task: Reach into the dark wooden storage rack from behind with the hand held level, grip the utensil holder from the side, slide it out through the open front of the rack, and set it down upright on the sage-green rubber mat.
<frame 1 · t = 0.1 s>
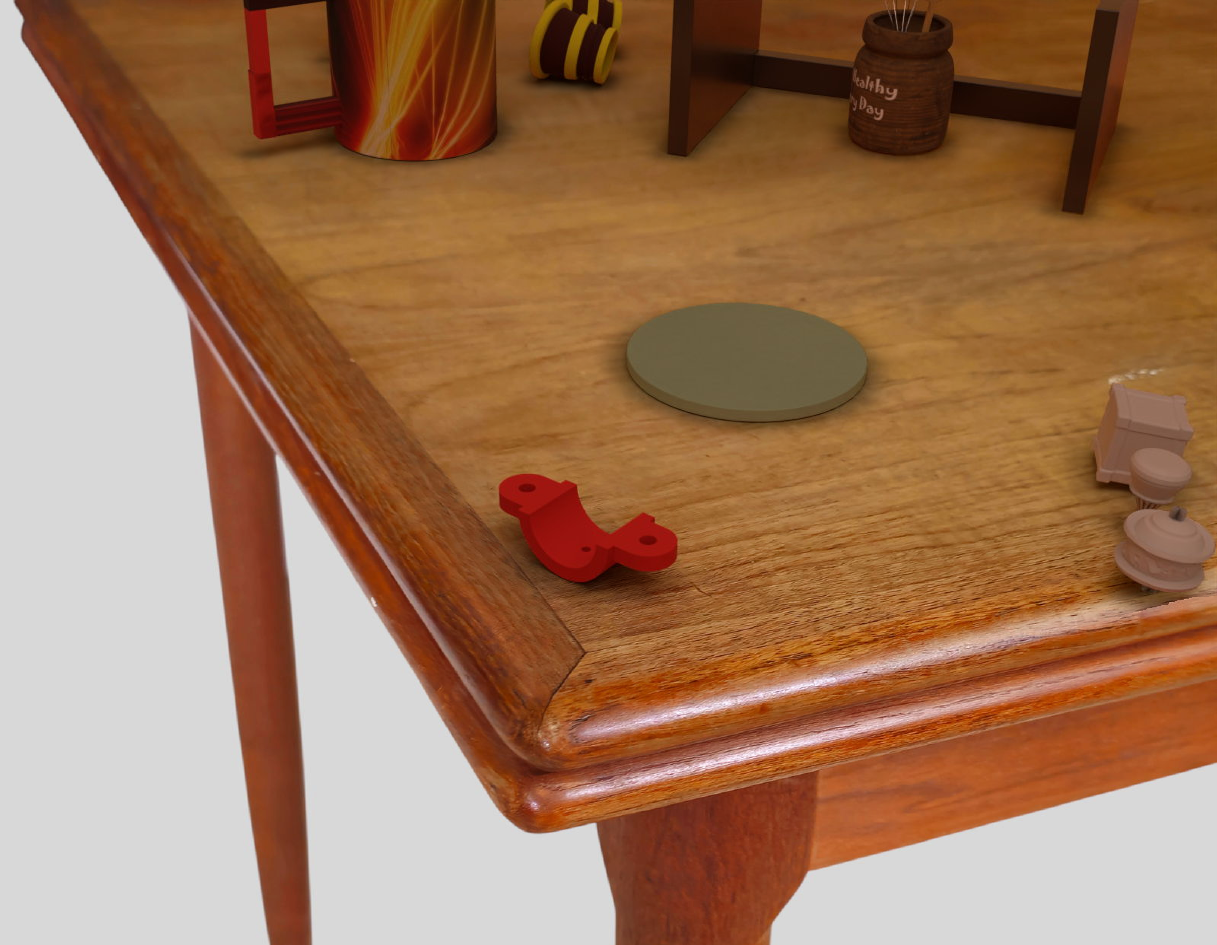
utensil holder: (896, 143, 108), on the table
storage rack: (896, 140, 108), on the table
rubber mat: (745, 364, 83), on the table
toy set: (1168, 447, 70), point 4 cm above the table
mug: (393, 144, 106), on the table
pipe clamp: (586, 508, 68), point 2 cm above the table
opera glasses: (577, 69, 118), on the table
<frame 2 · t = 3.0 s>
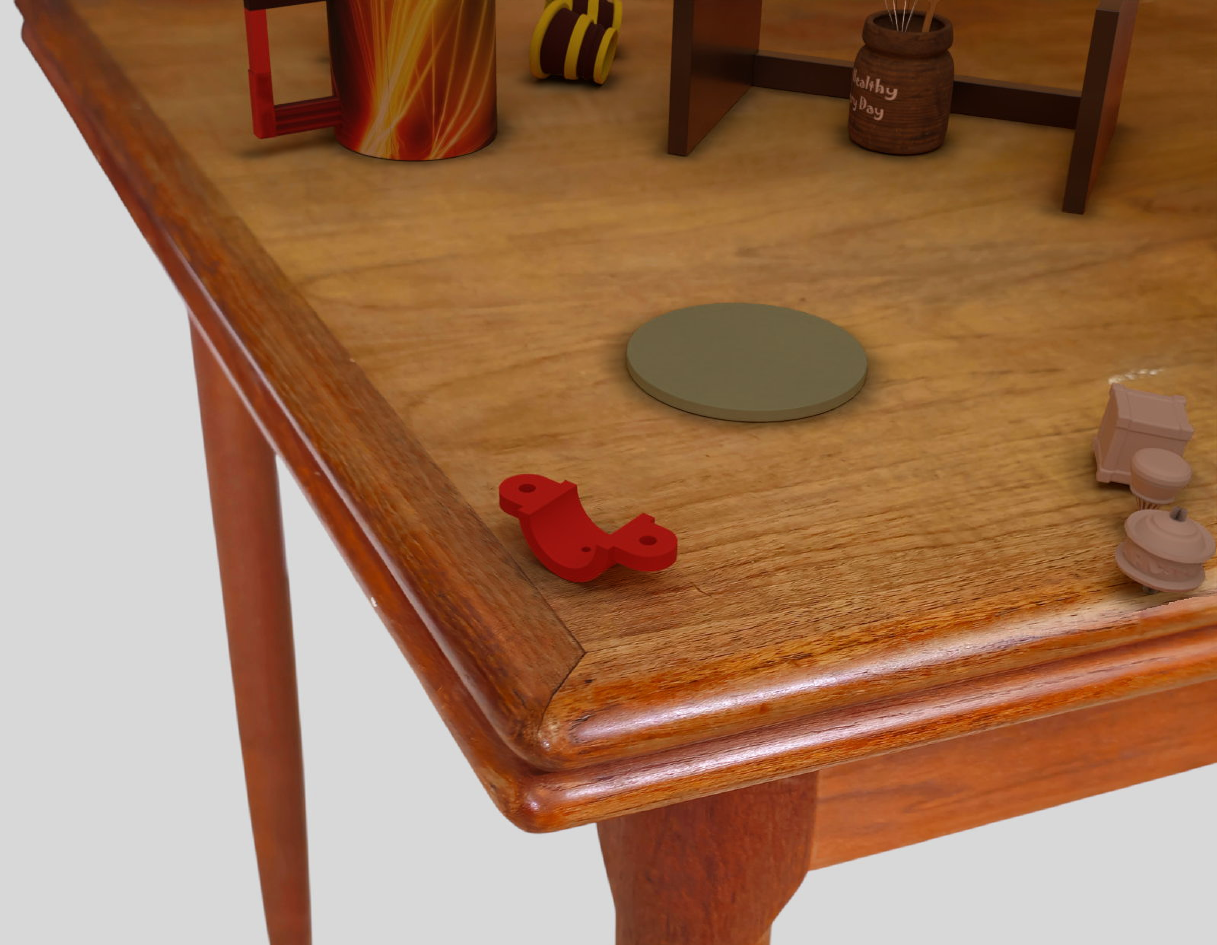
nothing on the table moved.
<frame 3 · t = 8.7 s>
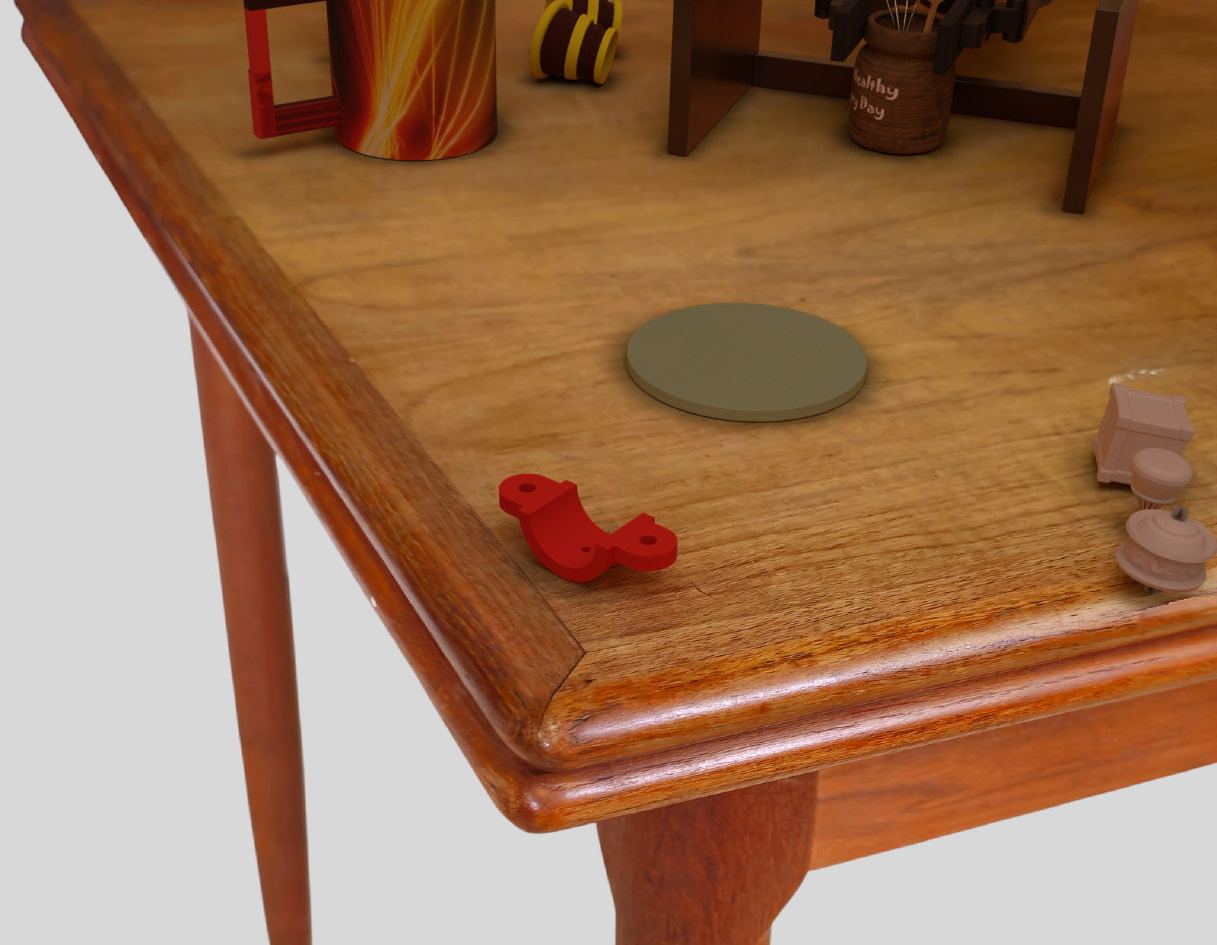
hand: (890, 43, 100), 7 cm above the table, tool horizontal, fingers closed on utensil holder, 5 cm apart
utensil holder: (896, 142, 108), on the table, touching gripper
everything else where it was.
when the fingers open (8 cm above the table, at t = 16.7 s): utensil holder stays where it is, resting on rubber mat.
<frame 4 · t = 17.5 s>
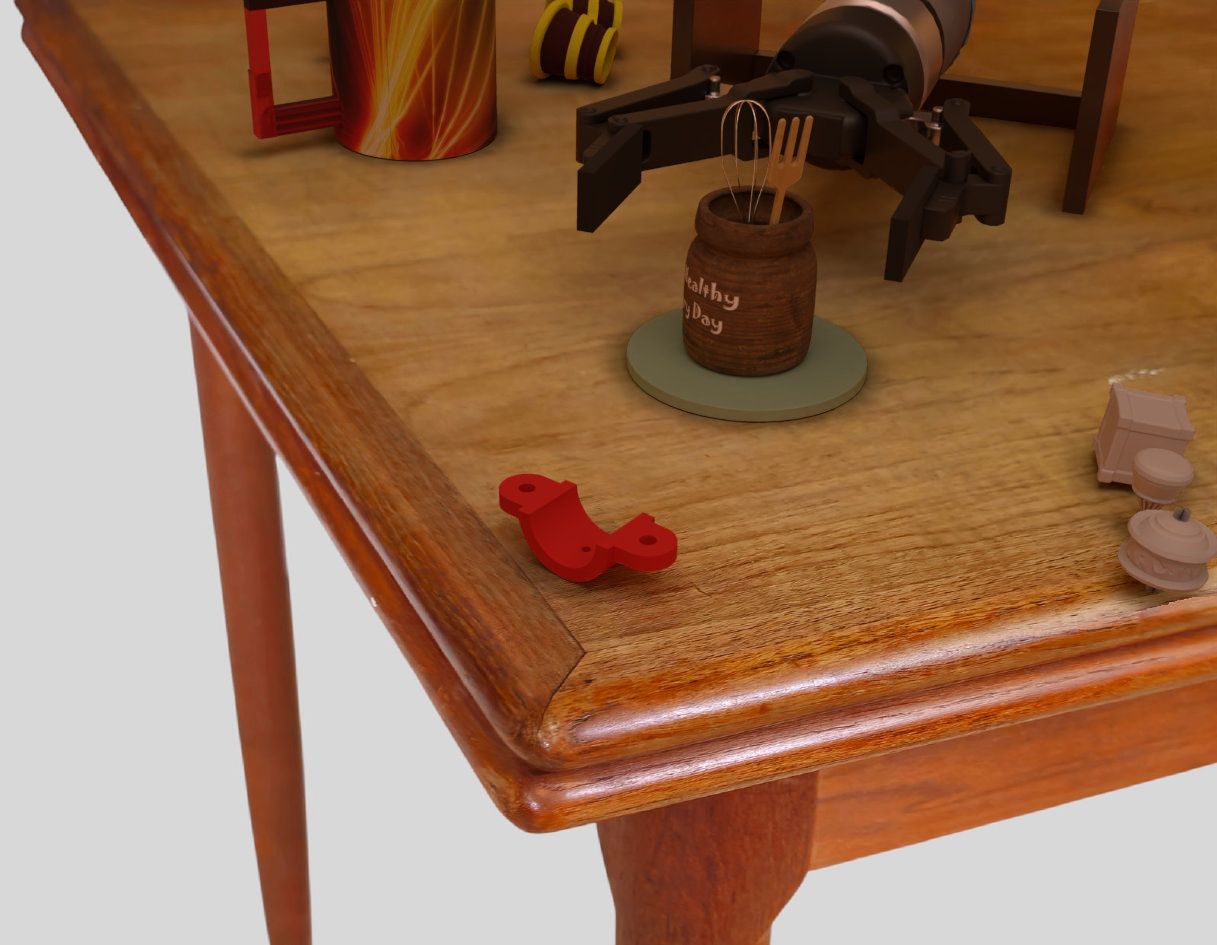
hand: (736, 226, 76), 8 cm above the table, tool horizontal, fingers open, 13 cm apart
utensil holder: (746, 356, 83), resting on rubber mat
everything else where it was.
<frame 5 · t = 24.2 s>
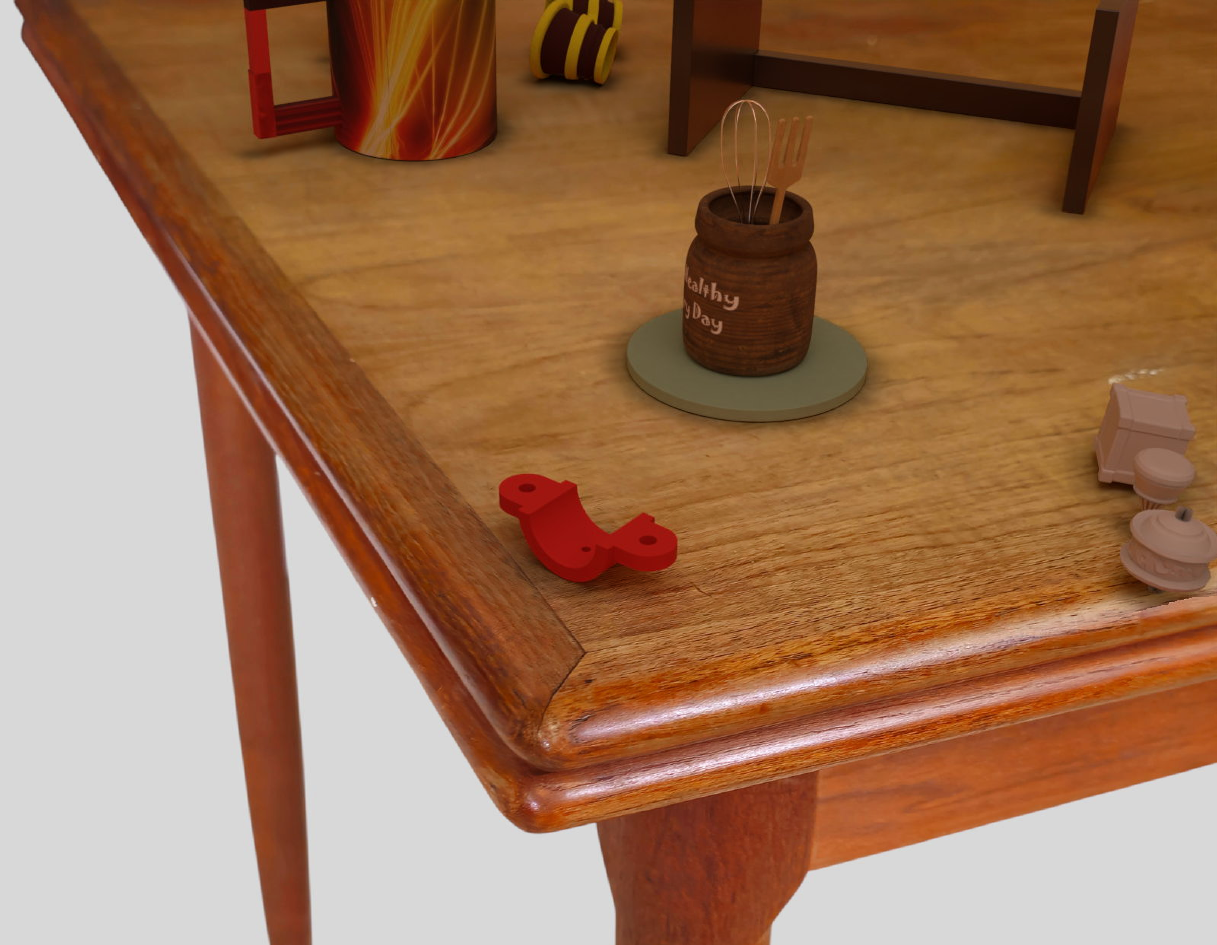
nothing on the table moved.
at the end: utensil holder inside the target area on the rubber mat (0.1 cm from its centre), point 0.4 cm above the rubber mat's base; utensil holder tilted 0°; the gripper is holding nothing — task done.
